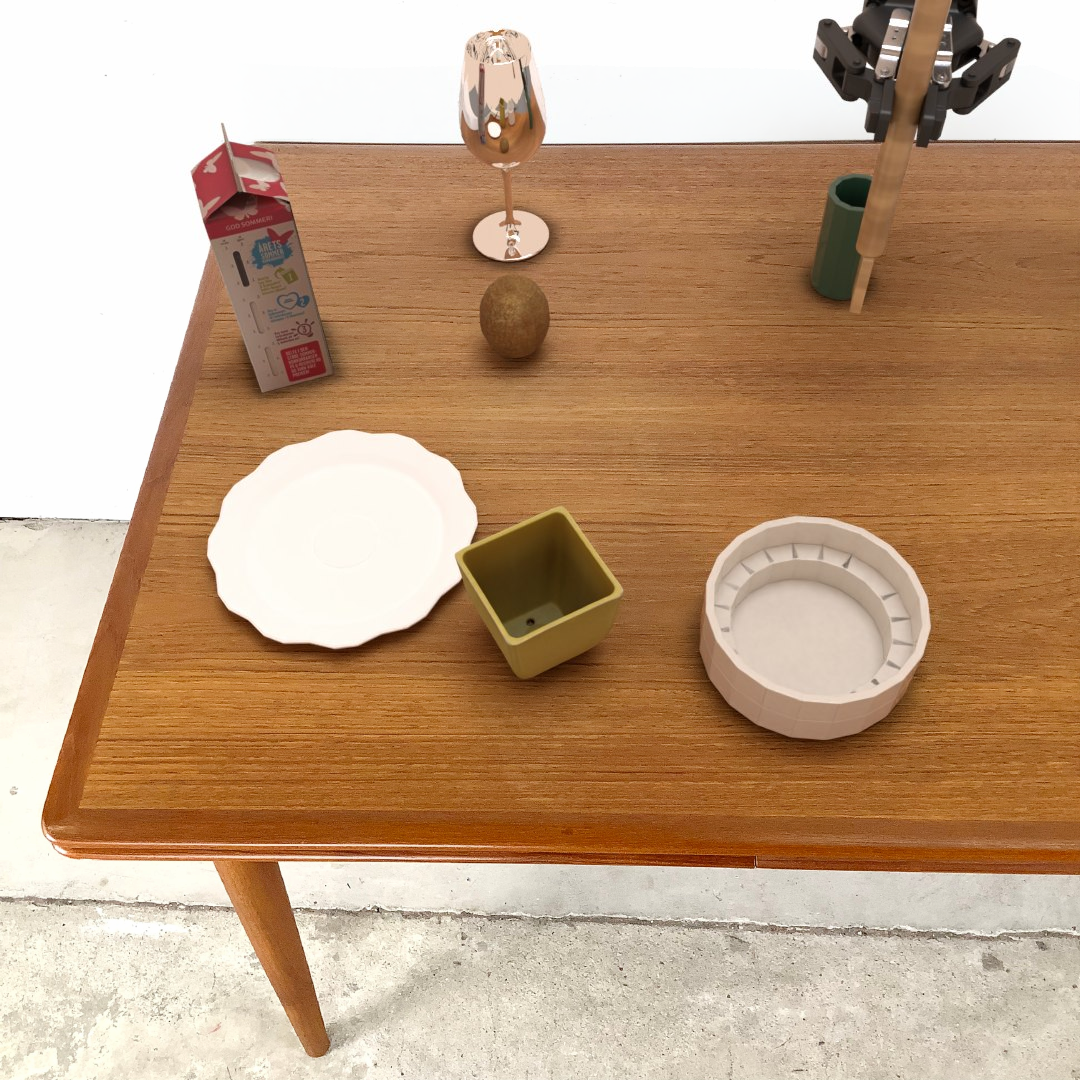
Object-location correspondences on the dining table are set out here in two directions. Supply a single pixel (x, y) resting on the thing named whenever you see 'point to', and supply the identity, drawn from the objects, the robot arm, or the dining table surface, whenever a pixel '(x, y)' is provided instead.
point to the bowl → (812, 626)
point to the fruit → (514, 316)
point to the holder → (840, 236)
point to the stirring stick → (899, 136)
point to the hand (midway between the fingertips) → (903, 131)
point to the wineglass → (503, 132)
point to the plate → (341, 538)
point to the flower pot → (541, 591)
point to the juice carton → (262, 263)
